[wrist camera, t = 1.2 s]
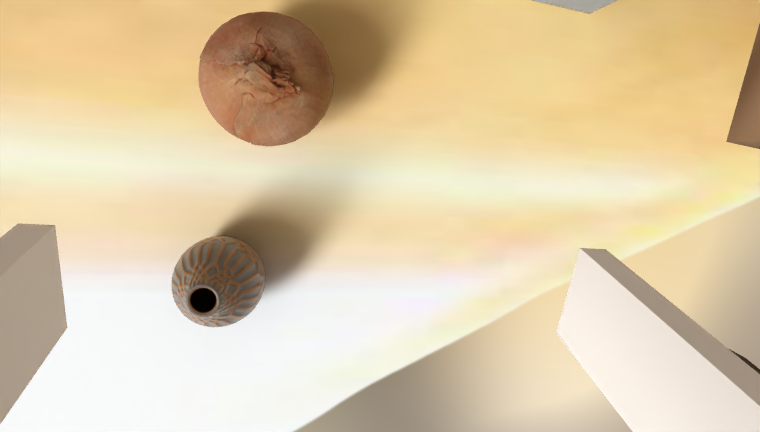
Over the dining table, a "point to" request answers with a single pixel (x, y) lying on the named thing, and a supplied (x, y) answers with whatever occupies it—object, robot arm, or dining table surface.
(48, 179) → the dining table surface
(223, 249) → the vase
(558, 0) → the gray stand
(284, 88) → the onion
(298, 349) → the dining table surface
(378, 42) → the dining table surface
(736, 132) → the walnut mallet
